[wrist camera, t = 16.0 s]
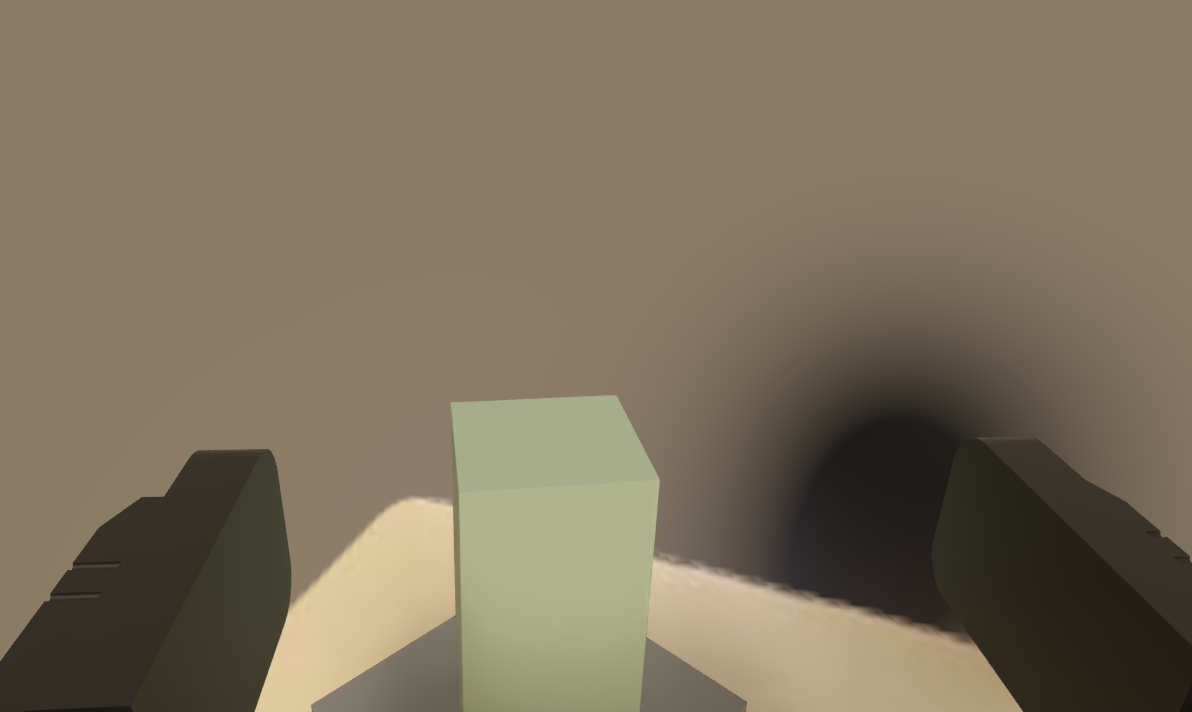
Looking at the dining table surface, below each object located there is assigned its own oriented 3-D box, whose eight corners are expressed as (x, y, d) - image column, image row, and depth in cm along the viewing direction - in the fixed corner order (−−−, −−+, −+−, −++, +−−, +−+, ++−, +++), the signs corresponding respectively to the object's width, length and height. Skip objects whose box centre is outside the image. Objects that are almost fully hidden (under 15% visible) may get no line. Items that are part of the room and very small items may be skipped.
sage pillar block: (600, 651, 29) (615, 395, 25) (634, 769, 25) (659, 479, 21) (457, 667, 28) (450, 402, 24) (465, 793, 24) (458, 493, 20)
